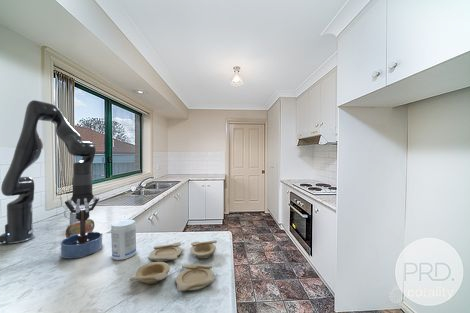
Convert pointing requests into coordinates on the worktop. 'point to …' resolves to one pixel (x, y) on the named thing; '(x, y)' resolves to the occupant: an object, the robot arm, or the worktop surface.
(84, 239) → the muddler
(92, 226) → the tin
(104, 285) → the worktop surface
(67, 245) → the bowl
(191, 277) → the tableware set
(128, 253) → the supplement tub
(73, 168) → the robot arm
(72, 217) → the french press
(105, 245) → the worktop surface
